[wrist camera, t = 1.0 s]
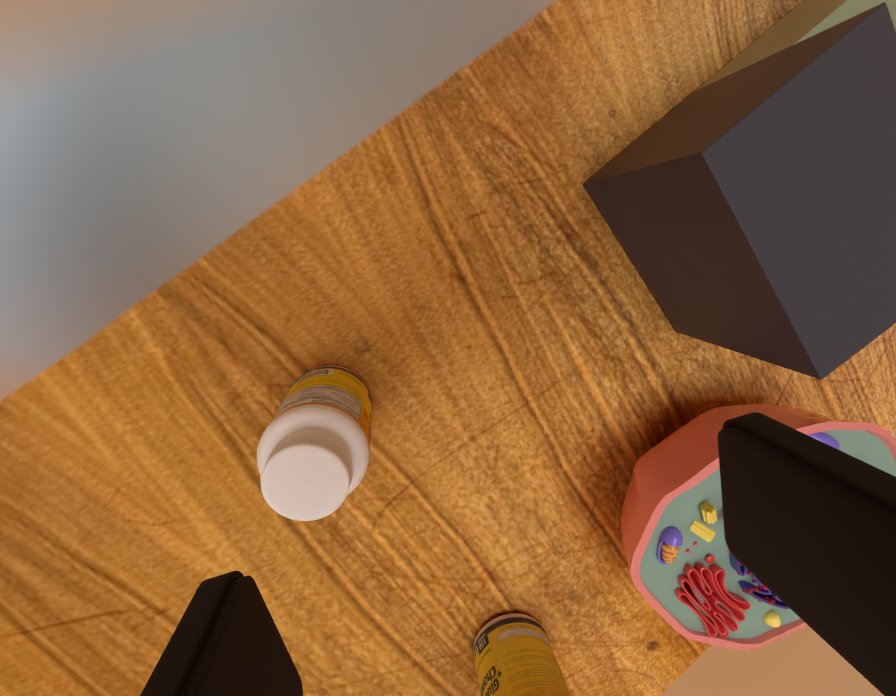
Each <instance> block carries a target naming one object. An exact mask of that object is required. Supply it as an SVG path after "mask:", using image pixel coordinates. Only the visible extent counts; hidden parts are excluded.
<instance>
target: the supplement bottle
mask: <svg viewBox="0 0 896 696" xmlns="http://www.w3.org/2000/svg"><path fill="white" fill-rule="evenodd" d="M371 423H372V397H371V393H370V390H369V388H368V386H367V385H366V383H365V382H364V381H363V379H362V378H361V377H359V376H358V375H357V374H356V373H354V372H353V371H351V370H349V369H346V368H343V367H339V366H321V367H317V368H314V369H312V370H310V371H308V372H306V373H305V374H303V375H302V376H301V377H300V378H299V379H298V380H297V381H296V382H295V383H294V385H293V386H292V388H291V389H290V391H289V393H288V394H287V396H286V397H285V399H284V400H283V402H282V403H281V405H280V407H279V408H278V410H277V411H276V413H275V415H274V416H273V418H272V419H271V421H270V422H269V424H268V426H267V427H266V429H265V431H264V433H263V435H262V436H261V439H260V442H259V445H258V449H257V464H258V469H259V472H260V475H261V491H262V494H263V496H264V498H265V500H266V502H267V503H268V505H269V506H270V507H271V508H272V509H273V510H274V511H276V512H277V513H279V514H280V515H282V516H284V517H286V518H289V519H293V520H298V521H312V520H317V519H320V518H323V517H326V516H328V515H329V514H331V513H333V512H334V511H335V510H337V509H338V508H339V507H340V505H341V504H342V503H343V502H344V500H345V498H346V496H347V495H349V494H350V493H351V492H352V491H353V490H354V489H355V488H356V487H357V486H358V485H359V483H360V482H361V480H362V479H363V477H364V475H365V473H366V470H367V467H368V462H369V453H370V438H371Z"/></svg>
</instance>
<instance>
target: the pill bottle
mask: <svg viewBox="0 0 896 696" xmlns="http://www.w3.org/2000/svg"><path fill="white" fill-rule="evenodd" d="M473 656H474V662H475V667H476V671H477V676H478V681H479V686H480V691H481V696H571V695H570V692H569V690H568V687H567V685H566V682H565V680H564V677H563V675H562V672H561V670H560V667H559V665H558V662H557V660H556V658H555V655H554V653H553V650H552V648H551V645H550V643H549V640H548V638H547V635H546V633H545V631H544V629H543V627H542V626H541V624H540V623H539V622H538V621H537V620H535V619H534V618H532V617H530V616H527V615H524V614H518V613H512V614H506V615H502V616H499V617H497V618H495V619H493V620H491V621H490V622H488V623H487V624H486V625H485V626H484V627H483V628H482V629H481V630H480V632H479V633H478V635H477V636H476V639H475V642H474V646H473Z"/></svg>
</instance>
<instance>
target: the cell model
mask: <svg viewBox="0 0 896 696" xmlns="http://www.w3.org/2000/svg"><path fill="white" fill-rule="evenodd" d="M752 412H758V413H761V414H764V415H766V416H768V417H770V418H772V419H774V420H777V421H779V422H781V423H783V424H785V425H787V426H789V427H791V428H793V429H796V430H798V431H800V432H802V433H804V434H806V435H808V436H810V437H813V438H815V439H817V440H819V441H821V442H823V443H825V444H827V445H830V446H832V447H834V448H836V449H838V450H840V451H842V452H844V453H846V454H849V455H851V456H853V457H855V458H857V459H859V460H861V461H863V462H866V463H868V464H870V465H872V466H874V467H876V468H878V469H880V470H883V471H885V472H887V473H889V474H891V475H893V476H895V477H896V438H895V437H894V436H893V435H892V434H891V433H890V432H889V431H887V430H885V429H884V428H882V427H880V426H878V425H875V424H872V423H869V422H857V421H845V420H836V419H831V418H828V417H825V416H822V415H820V414H817V413H814V412H811V411H808V410H803V409H798V408H793V407H787V406H779V405H771V404H743V405H731V406H723V407H717V408H714V409H711V410H708V411H706V412H704V413H702V414H700V415H699V416H697V417H695V418H694V419H693V420H691V421H690V422H688V423H687V424H685V425H684V426H682V427H681V428H679V429H678V430H676V431H675V432H674V433H672V434H671V435H669V436H668V437H667V438H665V439H664V440H663V441H661V442H660V443H658V444H657V445H656V446H654V447H653V448H651V449H650V450H649V451H647V452H646V453H645V454H643V455H642V456H641V457H640V458H639V460H638V461H637V462H636V464H635V466H634V469H633V475H632V478H631V481H630V484H629V488H628V491H627V494H626V498H625V501H624V504H623V507H622V512H621V534H622V539H623V544H624V549H625V554H626V559H627V563H628V567H629V571H630V574H631V578H632V581H633V584H634V585H635V587H636V588H637V590H638V591H639V592H640V594H641V595H642V596H643V597H644V599H645V600H646V601H647V602H648V603H649V604H650V605H651V606H652V607H653V608H654V609H655V610H656V611H657V612H658V613H659V614H660V615H661V616H662V617H663V618H664V619H665V620H666V621H667V622H668V623H669V624H670V625H671V626H672V627H673V628H674V629H675V630H676V631H677V632H678V633H680V634H681V635H682V636H684V637H685V638H687V639H690V640H693V641H698V642H703V643H708V644H713V645H717V646H722V647H726V648H730V649H736V650H751V649H757V648H760V647H763V646H765V645H767V644H769V643H770V642H773V641H775V640H777V639H779V638H782V637H784V636H786V635H789V634H791V633H793V632H795V631H798V630H800V629H802V628H805V627H807V626H808V625H807V624H806V623H805V622H804V621H803V620H802V619H801V618H800V617H799V616H798V615H797V614H795V613H794V612H793V611H792V610H791V609H790V608H789V607H788V606H787V605H786V604H785V603H784V602H782V601H781V600H780V599H779V598H778V597H777V596H776V595H775V594H774V593H773V592H772V591H771V590H769V589H768V588H767V587H766V586H765V585H764V584H763V583H762V582H761V581H760V580H759V579H758V578H756V577H755V576H754V575H753V574H752V573H751V572H750V571H749V570H748V569H747V568H746V567H745V566H743V565H742V564H741V563H740V562H739V561H738V560H737V559H736V558H735V557H734V556H733V554H732V553H731V552H730V550H729V548H728V546H727V544H726V541H725V534H724V520H723V507H722V493H721V479H720V466H719V452H718V433H719V431H720V430H722V426H723V424H724V422H725V421H727V420H729V419H732V418H735V417H739V416H742V415H745V414H748V413H752Z"/></svg>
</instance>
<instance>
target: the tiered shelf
mask: <svg viewBox="0 0 896 696" xmlns="http://www.w3.org/2000/svg"><path fill="white" fill-rule="evenodd" d="M583 186H584V188H585V189H586V191H587V192H588V194H589V195H590V197H591V199H592V200H593V202H594V203H595V205H596V207H597V208H598V210H599V211H600V213H601V214H602V216H603V218H604V219H605V221H606V222H607V224H608V225H609V227H610V229H611V230H612V232H613V233H614V235H615V236H616V238H617V240H618V241H619V243H620V244H621V246H622V247H623V249H624V251H625V252H626V254H627V255H628V257H629V259H630V260H631V262H632V263H633V265H634V266H635V268H636V270H637V271H638V273H639V274H640V276H641V277H642V279H643V281H644V282H645V284H646V285H647V287H648V288H649V290H650V292H651V293H652V295H653V296H654V298H655V299H656V301H657V303H658V304H659V306H660V307H661V309H662V311H663V312H664V314H665V315H666V317H667V318H668V320H669V322H670V323H671V325H672V326H673V328H674V329H675V331H676V332H679V333H682V334H685V335H688V336H691V337H694V338H697V339H700V340H703V341H706V342H709V343H712V344H715V345H718V346H721V347H724V348H727V349H730V350H733V351H736V352H739V353H742V354H745V355H748V356H751V357H754V358H757V359H760V360H763V361H766V362H769V363H772V364H775V365H778V366H781V367H784V368H788V369H791V370H794V371H797V372H800V373H803V374H806V375H809V376H812V377H815V378H818V379H823V378H825V377H826V376H827V375H828V374H830V373H831V372H832V371H834V370H835V369H836V368H838V367H839V366H840V365H841V364H843V363H844V362H845V361H847V360H848V359H849V358H851V357H852V356H853V355H854V354H856V353H857V352H858V351H860V350H861V349H862V348H864V347H865V346H866V345H868V344H869V343H870V342H871V341H873V340H874V339H875V338H877V337H878V336H879V335H881V334H882V333H883V332H884V331H886V330H887V329H888V328H890V327H891V326H892V325H894V324H895V323H896V0H803V1H802V2H801V3H799V4H798V5H797V6H796V7H795V8H793V9H792V10H791V11H790V12H789V13H787V14H786V15H785V16H784V17H783V18H781V19H780V20H779V21H778V22H777V23H775V24H774V25H773V26H772V27H771V28H769V29H768V30H767V31H766V32H765V33H763V34H762V35H761V36H760V37H759V38H757V39H756V40H755V41H754V42H753V43H751V44H750V45H749V46H748V47H747V48H745V49H744V50H743V51H742V52H741V53H739V54H738V55H737V56H736V57H735V58H733V59H732V60H731V61H730V62H729V63H727V64H726V65H725V66H724V67H723V68H721V69H720V70H719V71H718V72H717V73H715V74H714V75H713V76H712V77H711V78H709V79H708V80H707V81H706V82H705V83H703V84H702V85H701V86H700V87H699V88H697V89H696V90H695V91H694V92H692V93H691V94H690V95H689V96H688V97H686V98H685V99H684V100H683V101H682V102H680V103H679V104H678V105H677V106H676V107H674V108H673V109H672V110H671V111H670V112H668V113H667V114H666V115H665V116H664V117H662V118H661V119H660V120H659V121H658V122H656V123H655V124H654V125H653V126H652V127H650V128H649V129H648V130H647V131H646V132H644V133H643V134H642V135H641V136H640V137H638V138H637V139H636V140H635V141H634V142H632V143H631V144H630V145H629V146H628V147H626V148H625V149H624V150H623V151H622V152H620V153H619V154H618V155H617V156H616V157H614V158H613V159H612V160H611V161H610V162H608V163H607V164H606V165H605V166H604V167H602V168H601V169H600V170H599V171H598V172H596V173H595V174H594V175H593V176H592V177H590V178H589V179H588V180H587V181H586V182H584V183H583Z"/></svg>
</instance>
